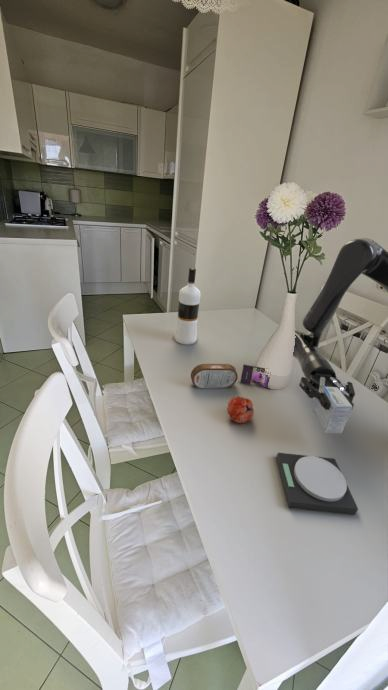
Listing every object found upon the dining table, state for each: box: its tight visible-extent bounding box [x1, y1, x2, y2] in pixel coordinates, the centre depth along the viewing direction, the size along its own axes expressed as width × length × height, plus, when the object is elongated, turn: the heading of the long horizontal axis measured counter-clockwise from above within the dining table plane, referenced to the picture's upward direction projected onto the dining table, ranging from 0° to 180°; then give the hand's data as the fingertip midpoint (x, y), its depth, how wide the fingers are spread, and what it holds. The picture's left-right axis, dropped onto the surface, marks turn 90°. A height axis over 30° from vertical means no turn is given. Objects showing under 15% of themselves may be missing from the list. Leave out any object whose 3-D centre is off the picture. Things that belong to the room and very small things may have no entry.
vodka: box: [173, 267, 202, 345], centre depth 119 cm, size 9×9×30 cm
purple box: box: [240, 364, 270, 389], centre depth 102 cm, size 7×5×9 cm
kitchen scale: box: [275, 452, 359, 516], centre depth 68 cm, size 14×13×4 cm
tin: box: [190, 363, 238, 389], centre depth 97 cm, size 15×3×8 cm, turn 100°
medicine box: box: [312, 387, 353, 434], centre depth 76 cm, size 8×4×9 cm, turn 3°
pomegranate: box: [226, 396, 255, 424], centre depth 85 cm, size 7×7×10 cm
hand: (339, 407), depth 72 cm, fingers closed on medicine box, 4 cm apart
